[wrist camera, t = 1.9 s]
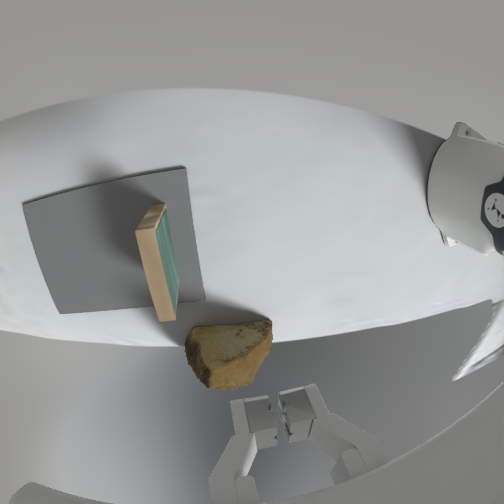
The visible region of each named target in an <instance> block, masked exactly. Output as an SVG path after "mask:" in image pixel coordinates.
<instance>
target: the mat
mask: <svg viewBox="0 0 504 504" xmlns="http://www.w3.org/2000/svg"><path fill="white" fill-rule="evenodd" d="M160 204H166V209H167V216H168V222H169V227H170V233H171V239H172V244H173V249H174V255H175V260H176V265H177V270H178V274H179V287H178V298H177V303H182V302H190V301H198V300H205V294H204V288H203V283H202V277H201V271H200V265H199V259H198V253H197V246H196V240H195V233H194V226H193V219H192V212H191V204H190V196H189V188H188V180H187V171H186V168H183V169H176V170H169V171H163V172H157V173H151V174H145V175H140V176H134V177H129V178H124V179H119V180H114V181H110V182H105V183H101V184H96V185H92V186H88V187H84V188H80V189H76V190H72V191H68V192H64V193H60V194H57V195H53V196H50V197H46V198H43V199H40V200H36V201H33V202H30V203H27V204H24V205H23V210H24V214H25V218H26V222H27V226H28V229H29V233H30V236H31V240H32V243H33V246H34V250H35V253H36V256H37V259H38V262H39V264H40V267H41V270H42V273H43V275H44V278H45V281H46V283H47V286H48V288H49V291H50V293H51V295H52V298H53V300H54V302H55V305H56V307H57V309H58V311H59V313H60V314H68V313H82V312H95V311H107V310H118V309H128V308H138V307H148V306H154V303H153V299H152V296H151V293H150V289H149V285H148V282H147V278H146V274H145V271H144V267H143V263H142V259H141V255H140V251H139V246H138V242H137V237H136V233H135V230H136V229H137V227H138V225H139V224H140V222H141V221H142V219H143V218H144V216H145V215H146V213H147V212H148V210H149V209H150V207H151V206H154V205H160Z"/></svg>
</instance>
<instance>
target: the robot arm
mask: <svg viewBox="0 0 504 504" xmlns="http://www.w3.org/2000/svg"><path fill="white" fill-rule="evenodd" d="M428 205H429V211H430V214H431V217H432V220H433V222H434V223H435V225H436V226H437V227H438V228H439V229H440V231H441V232H442V236H443V240H444V243H445V245H447V246H449V247H453V246H455V245H457V244H458V243H461V244H463V245H465V246H467V247H469V248H471V249H473V250H475V251H477V252H479V253H481V254H483V255H488V254H490V253H492V252H494V251H497V252H498V253H500V254H501V255H503V256H504V144H502V143H498V142H497V143H495V142H491V141H488V140H486V139H485V138H483V137H482V136H481V135H479V134H478V133H477V132H476V131H474V130H473V129H471V128H470V127H469V126H467V125H466V124H464V123H461V122H457V123H456V125H455V126H454V129H453V131H452V134H451V136H450V137H449V138H448V139H447V140H446V141H445V142H444V143H443V144H442V145H441V147H440V148H439V150H438V151H437V153H436V155H435V157H434V160H433V163H432V166H431V170H430V174H429V180H428ZM278 397H279V400H280V401H279V402H278V408H279V414H280V418H281V421H282V422H283V423H284V424H285V434H286V437H287V440H288V442H289V443H290V442H294V441H299V440H303V439H307V438H308V439H309V440H310V441H311V442H313V443H314V444H315V445H317V446H318V447H319V448H320V449H322V450H323V451H325V452H326V453H327V454H329V455H330V456H332V457H333V458H334V459H336V460H337V463H336V464H335V466H334V468H333V470H332V471H331V472H330V474H331V476H332V479H333V482H334V484H335V485H332V486H329V487H326V488H323V489H320V490H316V491H313V492H309V493H306V494H302V495H298V496H294V497H291V498H286V499H282V500H277V501H272V502H266V503H260V500H259V496H258V493H257V489H256V485H255V481H254V478H253V477H251V476H247V474H248V471H249V469H250V467H251V464H252V462H253V459H254V457H255V455H256V452H257V450H258V449H263V448H268V447H272V446H276V445H277V437H276V435H277V424H276V421H275V417H274V413H273V412H271V405H270V400H269V397H268V395H264V396H259V397H253V398H246V399H239V400H232V401H230V403H231V404H230V405H231V410H232V416H233V422H234V428H235V433H236V435H235V436H232V438H231V439H230V441H229V443H228V445H227V447H226V448H225V451H224V452H223V454H222V456H221V458H220V459H219V461H218V463H217V465H216V467H215V468H214V470H213V472H212V474H211V475H210V477H209V479H208V481H209V488H210V496H211V503H212V504H504V382H502V383H501V384H500V385H499V386H498V387H497V388H496V389H495V390H494V391H493V392H492V393H491V394H489V395H488V396H487V397H486V398H485V399H484V400H483V401H481V402H480V403H479V404H478V405H477V406H475V407H474V408H473V409H472V410H471V411H469V412H468V413H467V414H465V415H464V416H463V417H461V418H460V419H459V420H457V421H456V422H455V423H453V424H452V425H451V426H449V427H448V428H446V429H445V430H443V431H442V432H440V433H439V434H437V435H436V436H434V437H433V438H431V439H429V440H428V441H426V442H425V443H423V444H421V445H419V446H418V447H416V448H414V449H413V450H411V451H409V452H407V453H405V454H404V455H402V456H400V457H398V458H396V459H394V460H392V461H390V462H389V460H388V458H387V456H386V454H385V452H384V451H383V449H382V447H381V445H380V443H379V441H378V439H377V438H376V437H374V436H372V435H370V434H368V433H367V432H365V431H363V430H361V429H360V428H358V427H356V426H354V425H352V424H351V423H349V422H347V421H345V420H344V419H342V418H340V417H339V416H337V415H335V414H334V413H332V414H330V413H329V411H328V409H327V407H326V405H325V403H324V401H323V398H322V396H321V394H320V392H319V390H318V388H317V386H316V385H315V384H311V385H308V386H304V387H299V388H295V389H291V390H287V391H282V392H279V394H278ZM9 504H111V503H105V502H100V501H96V500H91V499H87V498H82V497H79V496H75V495H71V494H67V493H64V492H61V491H58V490H55V489H52V488H49V487H46V486H43V485H40V484H38V483H34V482H29V483H27V484H25V485H24V486H23V487H22V488H20V489H19V490H18V491H17V492H16V493H15V494H13V495H12V497H11V499H10V501H9Z"/></svg>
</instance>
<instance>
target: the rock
mask: <svg viewBox="0 0 504 504" xmlns="http://www.w3.org/2000/svg"><path fill="white" fill-rule="evenodd" d="M272 340H273V335H272V321H271V320H264V321H259V322H252V323H241V324H233V325H230V324H225V325H214V326H208V327H204V326H199V327H195V328H193V329H192V330H191V332H190V333H189V335H188V337H187V339H186V342H185V352H186V357H187V360H188V364H189V365H190V366H191V367H192V369H193V371H194V373H195V375H196V376H197V378H198V379H200V381H201V382H202V383H203V384H205V386H206V387H207V388H212V387H216V388H217V389H219V390H231V389H235V388H237V387H242V386H244V385H249V384H251V383H252V381H253V378H254V375H255V373H256V372H257V370H258V368H259V367H260V365H261V363H262V362H263V360H264V358H265V356H267V355H268V354H269V353H270V350H271V343H272Z"/></svg>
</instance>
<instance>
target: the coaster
mask: <svg viewBox="0 0 504 504" xmlns="http://www.w3.org/2000/svg"><path fill="white" fill-rule="evenodd" d="M135 233H136V237H137V242H138V246H139V251H140V255H141V259H142V263H143V267H144V271H145V274H146V278H147V282H148V285H149V289H150V293H151V296H152V299H153V303H154V306H155V309H156V313H157V316H158V319H159V322H164V321H173V320H176V309H177V298H178V287H179V274H178V270H177V265H176V260H175V255H174V249H173V244H172V239H171V233H170V227H169V222H168V216H167V209H166V204H160V205H154V206H151V207H150V209H149V210H148V212H147V213H146V215H145V216H144V218H143V219H142V221H141V222H140V224H139V225H138V227H137V229H136V230H135Z"/></svg>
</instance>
